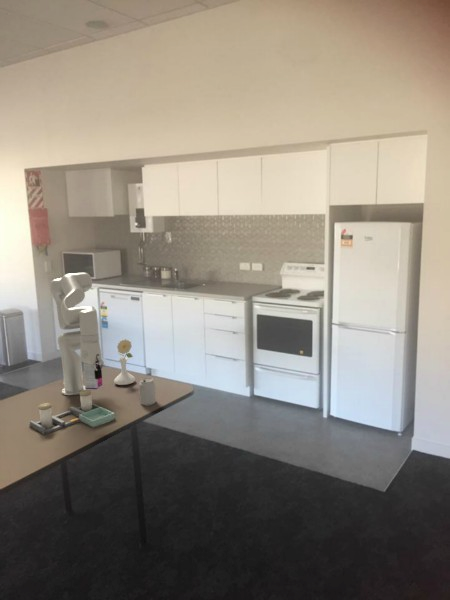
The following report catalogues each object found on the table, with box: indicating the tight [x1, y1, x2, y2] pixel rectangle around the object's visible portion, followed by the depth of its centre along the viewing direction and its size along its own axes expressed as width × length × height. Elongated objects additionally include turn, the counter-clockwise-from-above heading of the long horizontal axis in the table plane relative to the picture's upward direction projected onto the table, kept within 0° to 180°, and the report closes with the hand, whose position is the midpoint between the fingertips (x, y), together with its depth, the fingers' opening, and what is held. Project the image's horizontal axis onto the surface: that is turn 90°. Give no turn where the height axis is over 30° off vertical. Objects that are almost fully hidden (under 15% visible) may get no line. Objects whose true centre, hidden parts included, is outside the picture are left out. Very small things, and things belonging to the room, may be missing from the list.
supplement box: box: [83, 362, 103, 390], centre depth 222 cm, size 6×6×12 cm
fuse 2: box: [79, 389, 93, 412], centre depth 234 cm, size 5×5×10 cm
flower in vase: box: [113, 338, 136, 386], centre depth 270 cm, size 13×11×25 cm
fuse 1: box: [38, 402, 54, 430], centre depth 220 cm, size 5×5×10 cm
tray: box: [78, 406, 116, 428], centre depth 226 cm, size 11×11×3 cm
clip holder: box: [28, 402, 101, 435], centre depth 228 cm, size 13×30×2 cm, turn 137°
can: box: [138, 377, 157, 407], centre depth 242 cm, size 8×8×12 cm
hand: (93, 376), depth 222 cm, fingers closed on supplement box, 7 cm apart
